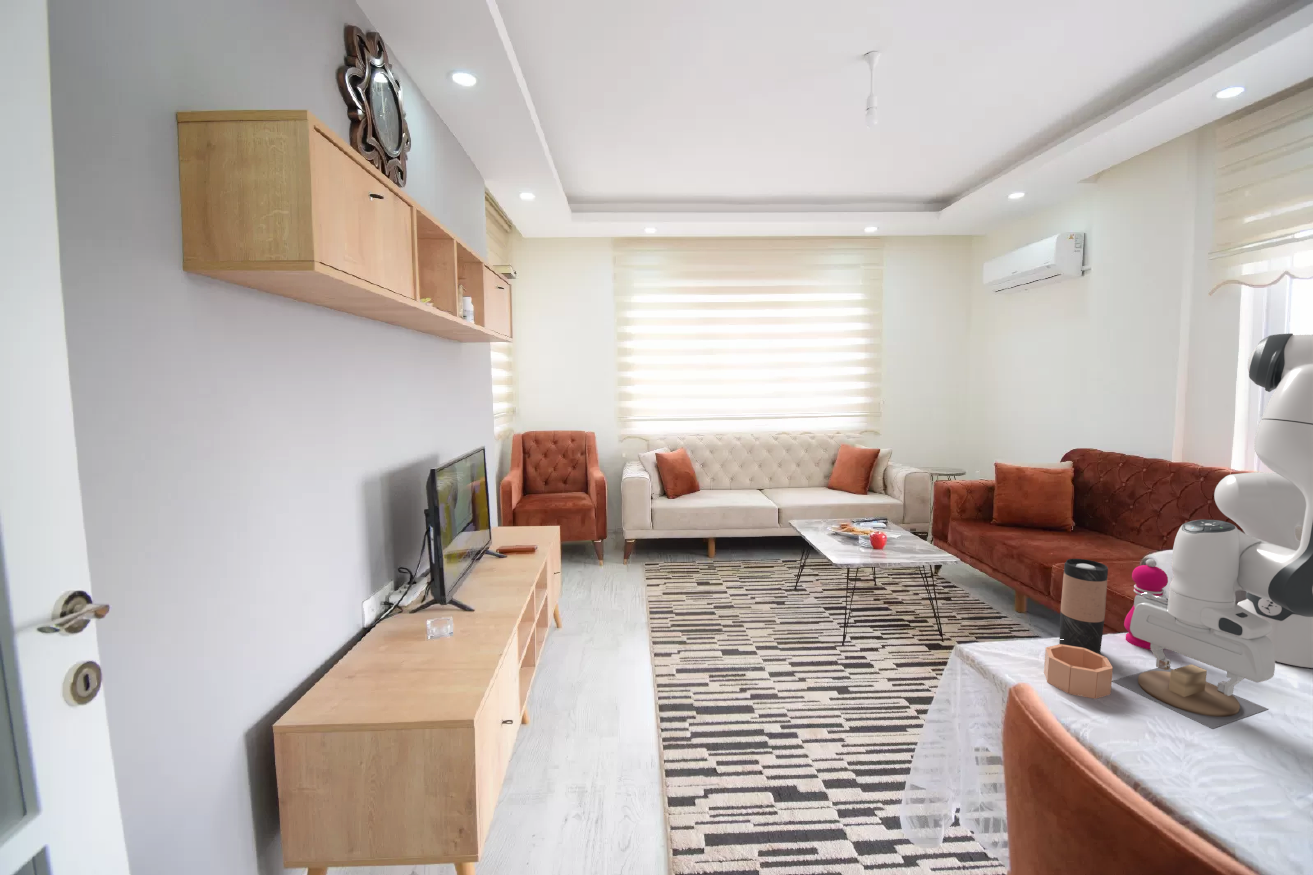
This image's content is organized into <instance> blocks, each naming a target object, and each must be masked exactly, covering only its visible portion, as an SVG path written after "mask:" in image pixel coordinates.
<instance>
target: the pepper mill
mask: <svg viewBox="0 0 1313 875" xmlns="http://www.w3.org/2000/svg"><path fill="white" fill-rule="evenodd" d="M1131 578H1132V581H1133V582H1134V583H1135V584H1134V585H1133V587H1134V588H1133V592H1134V593H1135V596H1136V595H1137V594H1140V593H1144V592H1147V593H1151V594H1153V595H1156V596H1160V597H1164V593H1165V592H1164V589H1163V588H1165V587H1167V585H1168V582H1169V577H1168V574H1167V572H1165V570H1163V569H1162V568H1160V567H1158V566H1157V561H1156V560H1155V559H1152V558H1148V559H1147V560H1145V564H1141V565H1138V566H1136V567H1135V568H1134V569H1133V570H1132V573H1131ZM1141 596H1143V595H1141ZM1134 610H1135V607H1134V604H1133V605H1132V607H1131V608H1130V610H1129V611H1128V612H1127V614H1126V616H1125V618H1124V623H1123V626H1124V628H1125V630H1126V631H1127V633H1126V634H1125V642H1127V643H1128V644H1131V645H1132V646H1134V647H1137V648H1140V649H1141V648H1142V649H1145V650H1151V648H1150V646H1151V643H1150V642H1147V641H1145V640H1142V639H1139V638H1137V637H1134V636H1133V634H1132V633H1131V631H1130V624H1131V619H1132V616H1133V612H1134Z"/></svg>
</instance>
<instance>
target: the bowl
mask: <svg viewBox="0 0 1313 875" xmlns="http://www.w3.org/2000/svg"><path fill="white" fill-rule="evenodd" d="M1113 671H1114V670H1113V665H1112V664H1111V662H1110V661H1109V658H1108V657H1106V656H1104V655H1101V653H1100V654H1097V653H1095V652H1093V651H1090V650H1088V649H1086V648H1081V647H1075V646H1069V645H1063V644H1054V645H1050V646H1047V647H1045V651H1044V666H1043V675H1044V677H1045V680H1046V683H1047V684H1050V686H1051V685H1052V686H1053V687H1055V688H1057V689H1059V690H1060V691H1063V692H1065V693H1067V694H1069V695H1073V696H1079V697H1084V698H1089V699H1095V700H1097V699H1099V698H1104V697H1106V696H1109V695H1111V694H1112V693H1111V692H1112V683H1113V682H1112V681H1113Z"/></svg>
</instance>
